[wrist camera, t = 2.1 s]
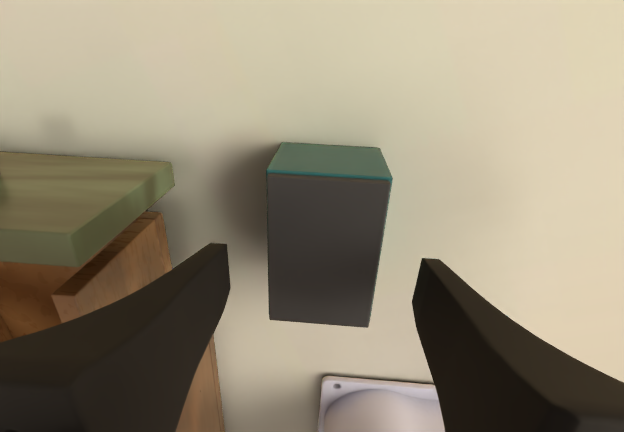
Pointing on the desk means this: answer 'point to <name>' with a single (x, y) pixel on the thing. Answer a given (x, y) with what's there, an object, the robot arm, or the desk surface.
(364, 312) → the teal and grey block
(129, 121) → the desk surface
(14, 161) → the drawer
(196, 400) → the cabinet
